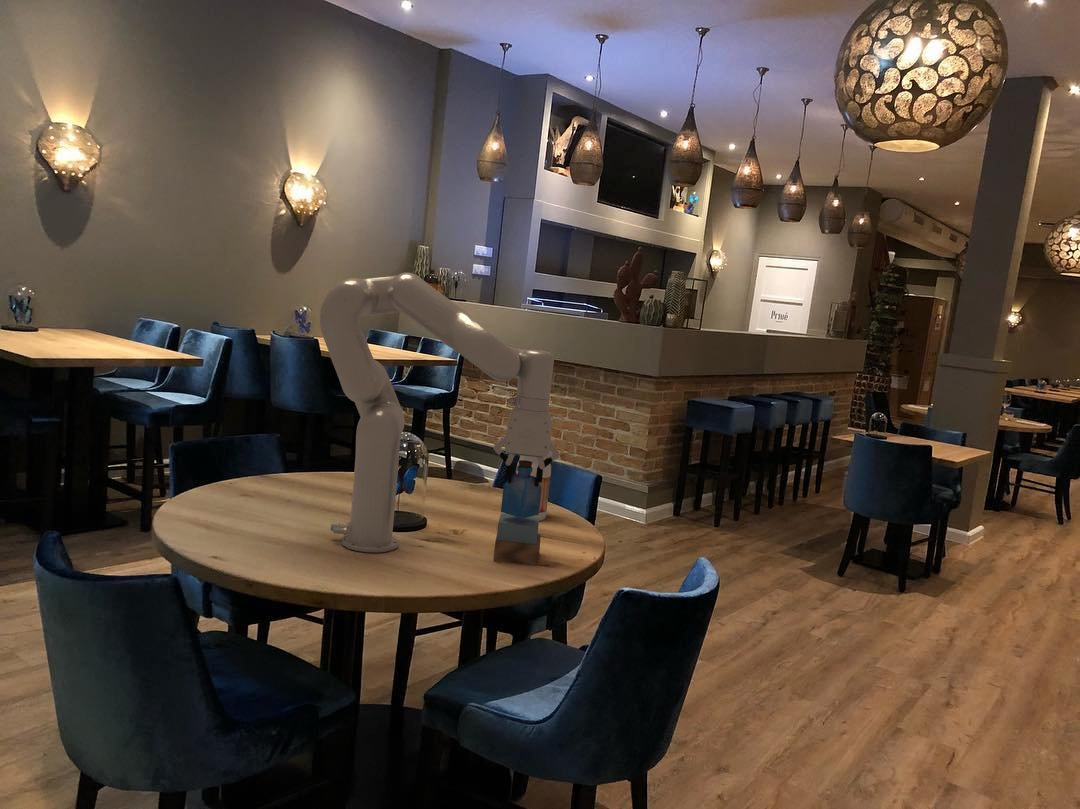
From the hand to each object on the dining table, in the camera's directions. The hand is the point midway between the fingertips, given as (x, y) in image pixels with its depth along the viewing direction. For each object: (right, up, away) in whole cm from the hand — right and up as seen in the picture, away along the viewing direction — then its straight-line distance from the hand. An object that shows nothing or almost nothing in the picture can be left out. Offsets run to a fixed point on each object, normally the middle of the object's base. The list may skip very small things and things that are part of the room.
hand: (523, 482), depth 193 cm
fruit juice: (+1, -13, +40) cm, 42 cm away
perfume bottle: (-1, -7, +1) cm, 7 cm away
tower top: (-1, -13, +2) cm, 13 cm away
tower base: (-2, -18, +2) cm, 18 cm away
